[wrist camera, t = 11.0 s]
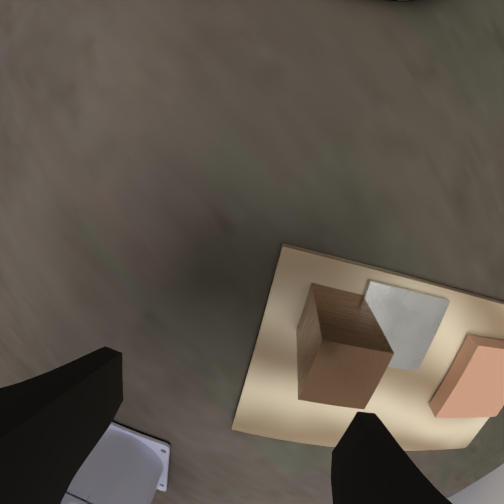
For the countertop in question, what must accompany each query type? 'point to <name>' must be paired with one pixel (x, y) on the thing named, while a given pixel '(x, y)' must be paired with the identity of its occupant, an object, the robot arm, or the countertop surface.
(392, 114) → the countertop surface
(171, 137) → the countertop surface
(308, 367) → the bookend
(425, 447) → the board
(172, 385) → the countertop surface
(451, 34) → the countertop surface
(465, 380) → the tile
